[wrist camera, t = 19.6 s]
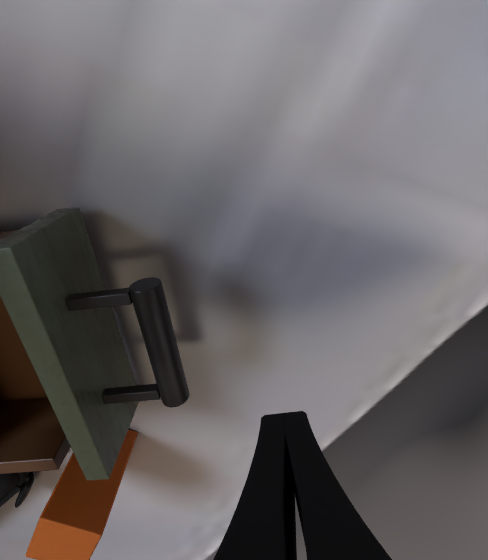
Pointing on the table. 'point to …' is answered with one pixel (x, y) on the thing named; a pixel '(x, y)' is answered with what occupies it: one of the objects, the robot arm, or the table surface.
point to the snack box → (78, 511)
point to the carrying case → (15, 486)
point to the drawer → (73, 351)
